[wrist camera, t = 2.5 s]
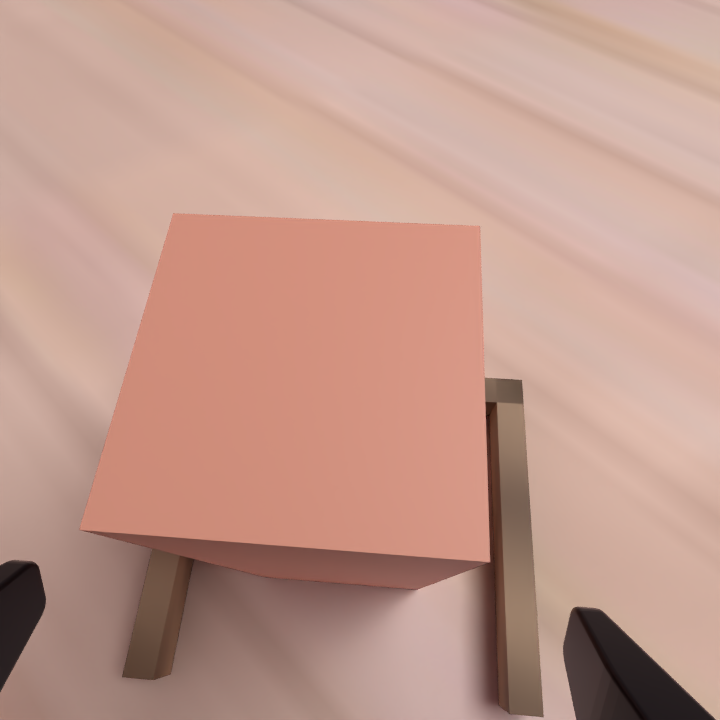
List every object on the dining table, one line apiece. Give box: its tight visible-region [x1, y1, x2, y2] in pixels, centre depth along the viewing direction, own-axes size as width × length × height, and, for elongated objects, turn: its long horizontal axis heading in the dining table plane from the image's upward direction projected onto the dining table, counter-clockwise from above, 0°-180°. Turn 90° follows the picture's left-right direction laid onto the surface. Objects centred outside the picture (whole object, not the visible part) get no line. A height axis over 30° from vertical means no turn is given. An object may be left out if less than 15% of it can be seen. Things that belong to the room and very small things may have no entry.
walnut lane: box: [122, 378, 543, 717], centre depth 19 cm, size 11×13×2 cm
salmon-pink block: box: [79, 213, 490, 590], centre depth 14 cm, size 6×6×13 cm
